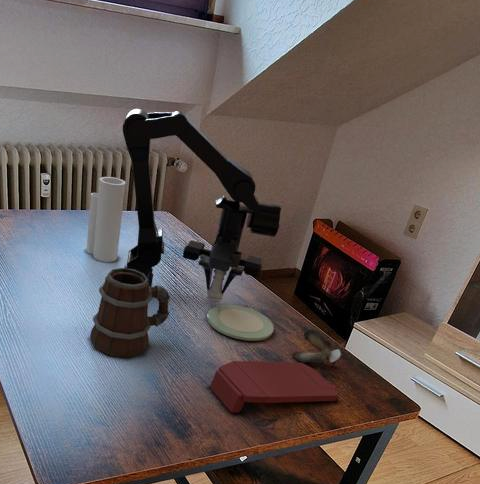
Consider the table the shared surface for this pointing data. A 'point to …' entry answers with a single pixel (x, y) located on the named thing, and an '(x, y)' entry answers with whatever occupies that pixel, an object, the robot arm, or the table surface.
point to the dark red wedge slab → (269, 384)
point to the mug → (126, 313)
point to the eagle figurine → (321, 344)
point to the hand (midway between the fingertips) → (215, 291)
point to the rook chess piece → (216, 287)
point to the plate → (240, 322)
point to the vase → (105, 219)
